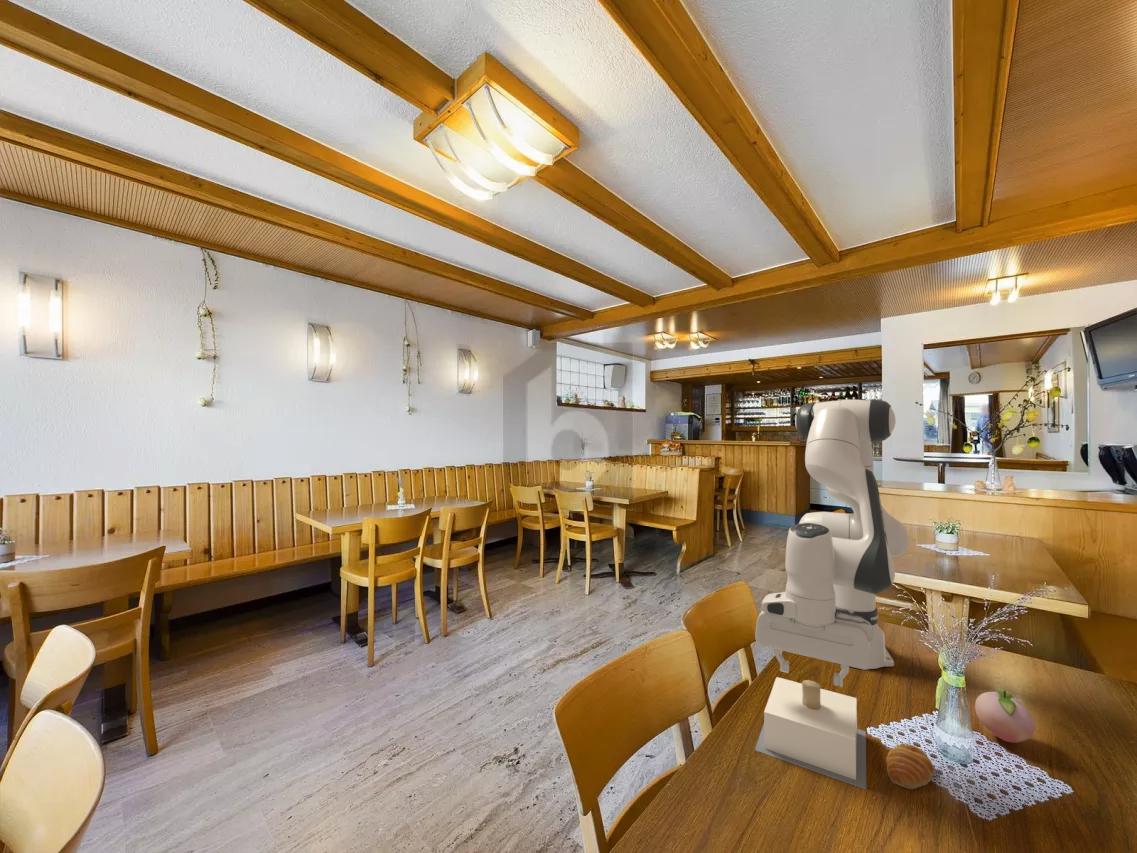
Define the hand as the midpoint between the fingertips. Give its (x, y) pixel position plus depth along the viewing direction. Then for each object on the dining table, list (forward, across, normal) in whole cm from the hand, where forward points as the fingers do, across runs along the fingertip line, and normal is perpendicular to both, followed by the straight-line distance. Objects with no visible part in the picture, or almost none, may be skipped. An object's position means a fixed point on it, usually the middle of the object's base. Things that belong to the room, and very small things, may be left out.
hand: (810, 677), depth 90 cm
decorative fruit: (+13, -32, -22) cm, 41 cm away
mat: (+13, 0, -1) cm, 13 cm away
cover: (+12, 0, -1) cm, 13 cm away
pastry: (+13, -16, -1) cm, 21 cm away
